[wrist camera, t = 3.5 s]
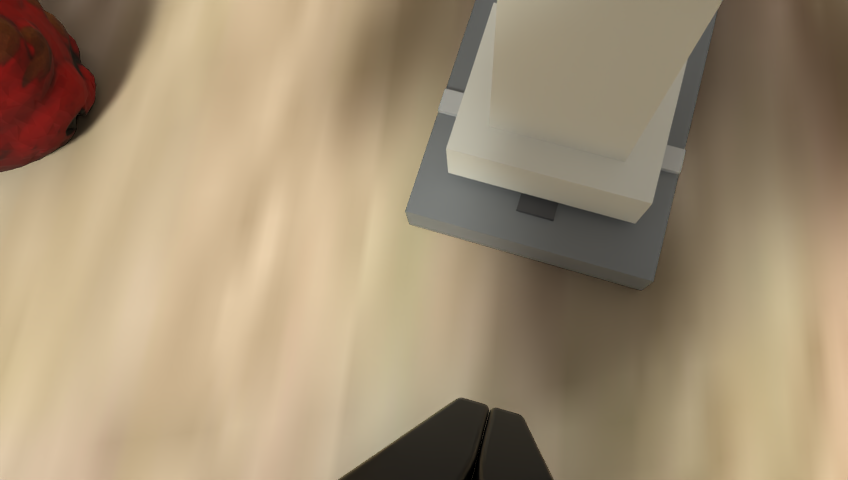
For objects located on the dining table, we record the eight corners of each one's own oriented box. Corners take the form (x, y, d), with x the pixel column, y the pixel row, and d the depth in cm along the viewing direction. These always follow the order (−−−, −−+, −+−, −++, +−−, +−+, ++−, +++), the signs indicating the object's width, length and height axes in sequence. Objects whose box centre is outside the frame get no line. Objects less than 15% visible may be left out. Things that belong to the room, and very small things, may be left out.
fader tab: (635, 223, 21) (830, -6, 9) (448, 172, 21) (424, -94, 10) (670, 81, 22) (882, -275, 11) (491, 38, 23) (513, -336, 11)
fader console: (641, 290, 22) (655, 280, 20) (409, 223, 23) (404, 209, 21) (749, -159, 26) (768, -198, 25) (548, -197, 27) (553, -237, 26)
